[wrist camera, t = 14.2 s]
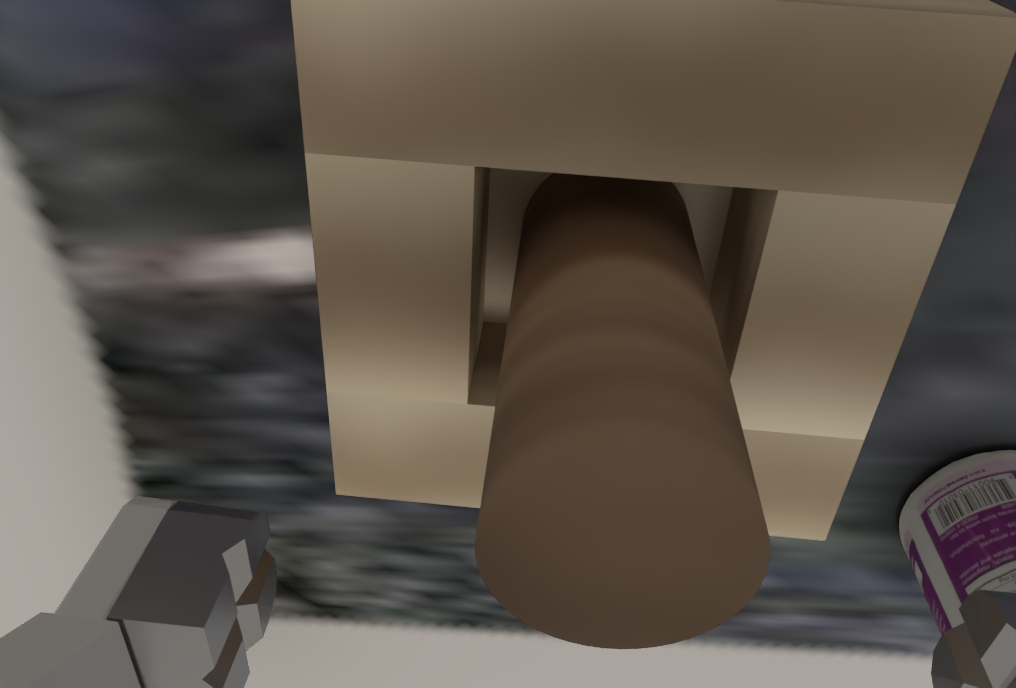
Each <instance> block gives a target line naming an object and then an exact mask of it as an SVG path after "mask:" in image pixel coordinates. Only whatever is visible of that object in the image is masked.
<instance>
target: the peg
mask: <svg viewBox="0 0 1016 688" xmlns="http://www.w3.org/2000/svg"><path fill="white" fill-rule="evenodd" d="M475 556H476V561H477V565H478V569H479V572H480V574H481V576H482V579H483V581H484V583H485V584H486V586H487V588H488V589H489V591H490V592H491V594H492V595H493V596H494V597H495V598H496V599H497V601H498V602H499V603H500V604H501V605H502V606H503V607H504V608H505V609H507V610H508V611H509V612H510V613H511V614H512V615H514V616H515V617H517V618H518V619H520V620H521V621H523V622H524V623H526V624H528V625H529V626H531V627H533V628H535V629H537V630H539V631H541V632H543V633H546V634H548V635H550V636H553V637H556V638H559V639H562V640H565V641H568V642H572V643H577V644H581V645H586V646H593V647H600V648H612V649H638V648H648V647H657V646H662V645H667V644H672V643H676V642H680V641H683V640H687V639H690V638H692V637H695V636H697V635H700V634H703V633H705V632H707V631H709V630H711V629H713V628H715V627H717V626H719V625H720V624H722V623H723V622H725V621H726V620H728V619H730V618H731V617H732V616H734V615H735V614H736V613H737V612H738V611H740V610H741V609H742V608H743V607H744V606H745V605H746V604H747V603H748V602H749V601H750V599H751V598H752V597H753V596H754V595H755V593H756V592H757V590H758V589H759V587H760V586H761V584H762V581H763V579H764V577H765V575H766V572H767V569H768V564H769V560H770V540H769V534H768V529H767V525H766V521H765V517H764V513H763V509H762V505H761V501H760V497H759V493H758V489H757V485H756V481H755V477H754V473H753V469H752V465H751V461H750V457H749V454H748V450H747V446H746V442H745V438H744V434H743V430H742V426H741V422H740V418H739V414H738V410H737V406H736V402H735V398H734V394H733V390H732V386H731V382H730V378H729V374H728V370H727V366H726V362H725V358H724V354H723V350H722V346H721V342H720V338H719V334H718V330H717V326H716V322H715V318H714V314H713V310H712V306H711V302H710V298H709V295H708V291H707V287H706V283H705V279H704V275H703V271H702V267H701V263H700V259H699V255H698V251H697V247H696V243H695V239H694V235H693V231H692V227H691V223H690V219H689V215H688V211H687V208H686V205H685V202H684V200H683V198H682V196H681V194H680V193H679V191H678V190H677V188H676V187H675V186H674V184H673V183H672V182H665V181H653V180H640V179H627V178H615V177H602V176H590V175H577V174H564V173H553V174H551V175H550V176H549V177H548V178H547V179H546V180H545V181H544V182H542V184H541V185H540V186H539V187H538V188H537V190H536V191H535V193H534V194H533V196H532V197H531V199H530V201H529V203H528V206H527V208H526V211H525V214H524V218H523V223H522V230H521V237H520V244H519V250H518V257H517V264H516V270H515V277H514V284H513V290H512V297H511V304H510V311H509V317H508V324H507V331H506V337H505V344H504V351H503V358H502V364H501V371H500V378H499V384H498V391H497V398H496V405H495V411H494V418H493V425H492V431H491V438H490V445H489V451H488V458H487V465H486V472H485V478H484V485H483V492H482V498H481V505H480V512H479V519H478V525H477V532H476V540H475Z"/></svg>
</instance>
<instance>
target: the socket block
mask: <svg viewBox="0 0 1016 688" xmlns="http://www.w3.org/2000/svg"><path fill="white" fill-rule="evenodd" d="M291 10H292V20H293V31H294V42H295V53H296V64H297V75H298V86H299V96H300V107H301V118H302V129H303V140H304V151H305V162H306V172H307V183H308V194H309V205H310V216H311V227H312V238H313V248H314V259H315V270H316V281H317V292H318V303H319V314H320V324H321V335H322V346H323V357H324V368H325V379H326V390H327V401H328V411H329V422H330V433H331V444H332V455H333V466H334V477H335V487H336V494H337V495H348V496H358V497H369V498H379V499H390V500H401V501H411V502H422V503H432V504H443V505H453V506H464V507H474V508H480V505H481V498H482V492H483V485H484V478H485V472H486V465H487V458H488V451H489V445H490V438H491V431H492V425H493V418H494V411H495V405H496V398H497V391H498V384H499V378H500V371H501V364H502V358H503V351H504V344H505V337H506V331H507V324H508V317H509V311H510V304H511V297H512V290H513V284H514V277H515V270H516V264H517V257H518V250H519V244H520V237H521V230H522V223H523V218H524V214H525V211H526V208H527V206H528V203H529V201H530V199H531V197H532V196H533V194H534V193H535V191H536V190H537V188H538V187H539V186H540V185H541V184H542V182H544V181H545V180H546V179H547V178H548V177H549V176H550V175H551V174H553V173H564V174H577V175H590V176H602V177H615V178H627V179H640V180H653V181H665V182H672V183H673V184H674V186H675V187H676V188H677V190H678V191H679V193H680V194H681V196H682V198H683V200H684V202H685V205H686V208H687V211H688V215H689V219H690V223H691V227H692V231H693V235H694V239H695V243H696V247H697V251H698V255H699V259H700V263H701V267H702V271H703V275H704V279H705V283H706V287H707V291H708V295H709V298H710V302H711V306H712V310H713V314H714V318H715V322H716V326H717V330H718V334H719V338H720V342H721V346H722V350H723V354H724V358H725V362H726V366H727V370H728V374H729V378H730V382H731V386H732V390H733V394H734V398H735V402H736V406H737V410H738V414H739V418H740V422H741V426H742V430H743V434H744V438H745V442H746V446H747V450H748V454H749V457H750V461H751V465H752V469H753V473H754V477H755V481H756V485H757V489H758V493H759V497H760V501H761V505H762V509H763V513H764V517H765V521H766V525H767V529H768V534H769V536H780V537H790V538H801V539H811V540H822V541H825V540H826V537H827V535H828V532H829V529H830V527H831V524H832V522H833V519H834V517H835V514H836V511H837V509H838V506H839V504H840V501H841V499H842V496H843V493H844V491H845V488H846V486H847V483H848V481H849V478H850V475H851V473H852V470H853V468H854V465H855V463H856V460H857V457H858V455H859V452H860V450H861V447H862V445H863V442H864V440H865V437H866V434H867V432H868V429H869V427H870V424H871V422H872V419H873V416H874V414H875V411H876V409H877V406H878V404H879V401H880V398H881V396H882V393H883V391H884V388H885V386H886V383H887V380H888V378H889V375H890V373H891V370H892V368H893V365H894V362H895V360H896V357H897V355H898V352H899V350H900V347H901V344H902V342H903V339H904V337H905V334H906V332H907V329H908V326H909V324H910V321H911V319H912V316H913V314H914V311H915V309H916V306H917V303H918V301H919V298H920V296H921V293H922V291H923V288H924V285H925V283H926V280H927V278H928V275H929V273H930V270H931V267H932V265H933V262H934V260H935V257H936V255H937V252H938V249H939V247H940V244H941V242H942V239H943V237H944V234H945V231H946V229H947V226H948V224H949V221H950V219H951V216H952V213H953V211H954V208H955V206H956V203H957V201H958V198H959V196H960V193H961V190H962V188H963V185H964V183H965V180H966V178H967V175H968V172H969V170H970V167H971V165H972V162H973V160H974V157H975V154H976V152H977V149H978V147H979V144H980V142H981V139H982V136H983V134H984V131H985V129H986V126H987V124H988V121H989V118H990V116H991V113H992V111H993V108H994V106H995V103H996V100H997V98H998V95H999V93H1000V90H1001V88H1002V85H1003V83H1004V80H1005V77H1006V75H1007V72H1008V70H1009V67H1010V65H1011V62H1012V59H1013V57H1014V54H1015V52H1016V13H1015V12H1013V11H1011V10H1009V9H1006V8H1004V7H1002V6H1000V5H998V4H996V3H994V2H992V1H989V0H291Z"/></svg>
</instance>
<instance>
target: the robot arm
mask: <svg viewBox="0 0 1016 688" xmlns="http://www.w3.org/2000/svg"><path fill="white" fill-rule="evenodd" d="M270 534H271V532H270V527H269V522H268V517H267V514H265V513H262V512H256V511H249V510H241V509H234V508H226V507H219V506H212V505H204V504H197V503H190V502H182V501H172V500H164V499H156V498H148V497H140V496H136V497H134V498H133V499H132V500H130V501H129V502H128V503H127V504H125V505H124V506H123V507H122V509H121V510H120V512H119V513H118V515H117V517H116V518H115V520H114V521H113V523H112V524H111V526H110V527H109V529H108V531H107V532H106V534H105V535H104V537H103V538H102V540H101V541H100V543H99V545H98V546H97V548H96V549H95V551H94V552H93V554H92V555H91V557H90V559H89V560H88V562H87V563H86V565H85V566H84V568H83V570H82V571H81V573H80V574H79V576H78V577H77V579H76V580H75V582H74V584H73V585H72V587H71V588H70V590H69V591H68V593H67V594H66V596H65V598H64V599H63V601H62V602H61V604H60V605H59V607H58V608H57V610H56V612H55V613H54V614H52V613H39V614H38V615H36V616H35V617H33V618H31V619H30V620H28V621H27V622H25V623H24V624H22V625H21V626H19V627H17V628H16V629H14V630H13V631H11V632H10V633H8V634H6V635H5V636H3V637H2V638H0V688H244V686H245V683H246V681H247V678H248V675H249V673H250V671H249V666H248V661H247V656H246V651H247V650H248V649H249V648H250V647H252V646H253V645H254V644H255V643H257V642H258V641H259V640H260V639H261V638H263V636H264V633H265V630H266V627H267V625H268V622H269V619H270V616H271V612H272V607H273V602H274V598H275V593H276V575H277V572H276V564H275V558H274V557H273V556H272V555H271V554H269V553H268V552H267V551H266V550H265V546H266V544H267V541H268V539H269V536H270ZM959 611H960V613H961V616H962V618H963V620H964V623H962V624H960V625H958V626H956V627H954V628H952V629H950V630H948V631H946V632H944V633H943V635H942V636H941V638H940V640H939V642H938V644H937V645H936V647H935V649H934V651H933V661H932V671H931V675H932V682H933V687H934V688H1016V593H1011V592H1000V591H990V590H980V589H979V590H977V591H975V592H973V593H971V594H969V595H968V596H967V597H966V599H965V600H964V602H963V603H962V605H961V606H960V608H959Z"/></svg>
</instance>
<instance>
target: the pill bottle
mask: <svg viewBox="0 0 1016 688" xmlns="http://www.w3.org/2000/svg"><path fill="white" fill-rule="evenodd" d="M899 534H900V539H901V542H902V545H903V547H904V550H905V552H906V555H907V557H908V559H909V562H910V564H911V566H912V569H913V571H914V574H915V576H916V578H917V580H918V582H919V585H920V587H921V589H922V591H923V593H924V596H925V598H926V600H927V603H928V605H929V607H930V609H931V612H932V614H933V616H934V618H935V621H936V623H937V625H938V627H939V630H940V632H941V634H942V635H943V633H944V632H946V631H948V630H950V629H952V628H954V627H956V626H958V625H960V624H962V623H964V620H963V618H962V616H961V613H960V611H959V608H960V606H961V605H962V603H963V602H964V600H965V599H966V597H967V596H968V595H969V594H971V593H973V592H975V591H977V590H979V589H980V590H990V591H1000V592H1011V593H1016V450H1000V451H994V452H985V453H979V454H975V455H972V456H969V457H966V458H963V459H960V460H957V461H955V462H952V463H951V464H949V465H947V466H945V467H944V468H942V469H940V470H939V471H937V472H936V473H934V474H933V475H931V476H930V477H929V478H928V479H926V480H925V481H924V482H923V483H922V484H921V485H919V486H918V487H917V488H916V489H915V490H914V491H913V492H912V493H911V495H910V496H909V498H908V499H907V501H906V503H905V505H904V507H903V509H902V512H901V515H900V521H899Z"/></svg>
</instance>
